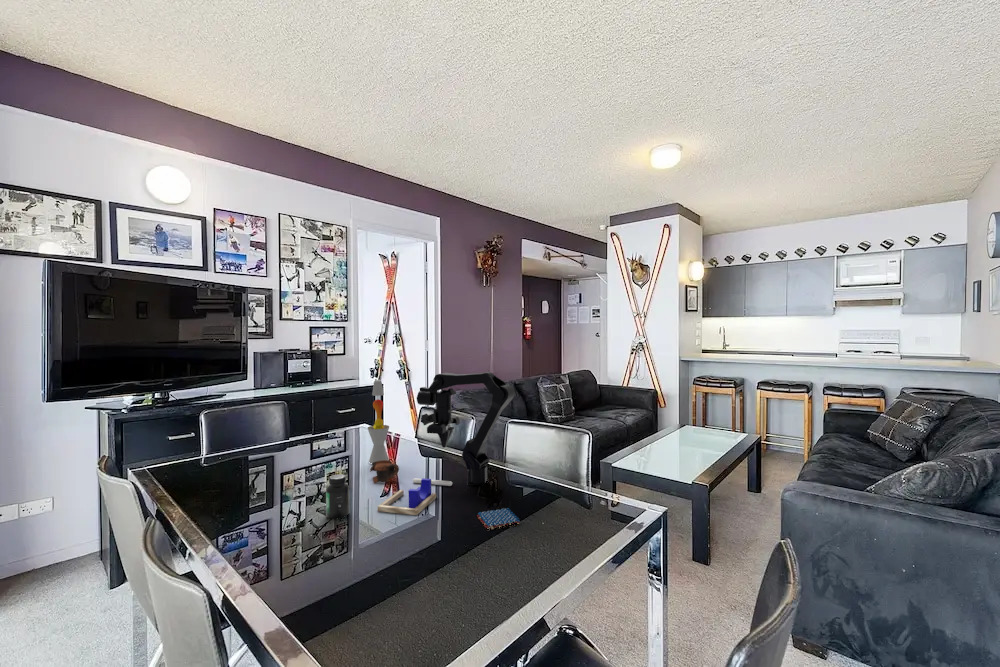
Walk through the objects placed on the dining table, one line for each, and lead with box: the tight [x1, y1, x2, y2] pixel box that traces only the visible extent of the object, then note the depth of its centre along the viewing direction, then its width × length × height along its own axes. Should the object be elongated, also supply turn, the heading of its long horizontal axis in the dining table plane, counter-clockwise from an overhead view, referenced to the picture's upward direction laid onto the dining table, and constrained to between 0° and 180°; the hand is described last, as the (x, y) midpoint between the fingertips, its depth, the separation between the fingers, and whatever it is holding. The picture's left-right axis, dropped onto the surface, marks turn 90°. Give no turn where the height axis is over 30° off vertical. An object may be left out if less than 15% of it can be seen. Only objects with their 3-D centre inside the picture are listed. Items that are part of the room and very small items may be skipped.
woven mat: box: [476, 507, 521, 530], centre depth 139 cm, size 10×11×2 cm
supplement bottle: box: [325, 473, 351, 520], centre depth 144 cm, size 7×7×12 cm
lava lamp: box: [367, 379, 390, 463], centre depth 201 cm, size 9×9×35 cm
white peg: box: [412, 478, 453, 487], centre depth 172 cm, size 16×2×2 cm, turn 74°
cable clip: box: [408, 478, 432, 509], centre depth 155 cm, size 12×4×6 cm, turn 167°
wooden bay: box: [377, 489, 437, 516], centre depth 153 cm, size 13×15×2 cm
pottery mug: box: [369, 460, 400, 484], centre depth 178 cm, size 12×10×8 cm
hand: (444, 447), depth 178 cm, fingers closed
